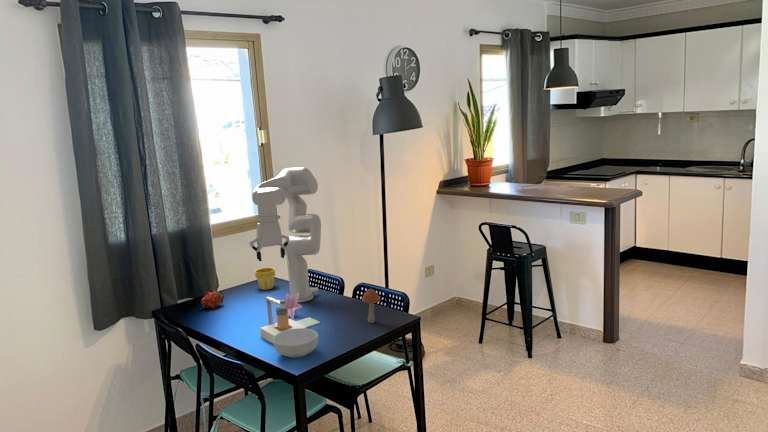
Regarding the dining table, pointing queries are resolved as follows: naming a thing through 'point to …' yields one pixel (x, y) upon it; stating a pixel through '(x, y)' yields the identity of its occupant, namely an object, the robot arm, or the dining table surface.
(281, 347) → the cereal bowl
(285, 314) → the plug
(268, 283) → the plant pot
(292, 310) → the lily
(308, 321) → the pad
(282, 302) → the grey ball-jointed lever
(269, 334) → the socket block
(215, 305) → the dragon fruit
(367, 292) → the mushroom
